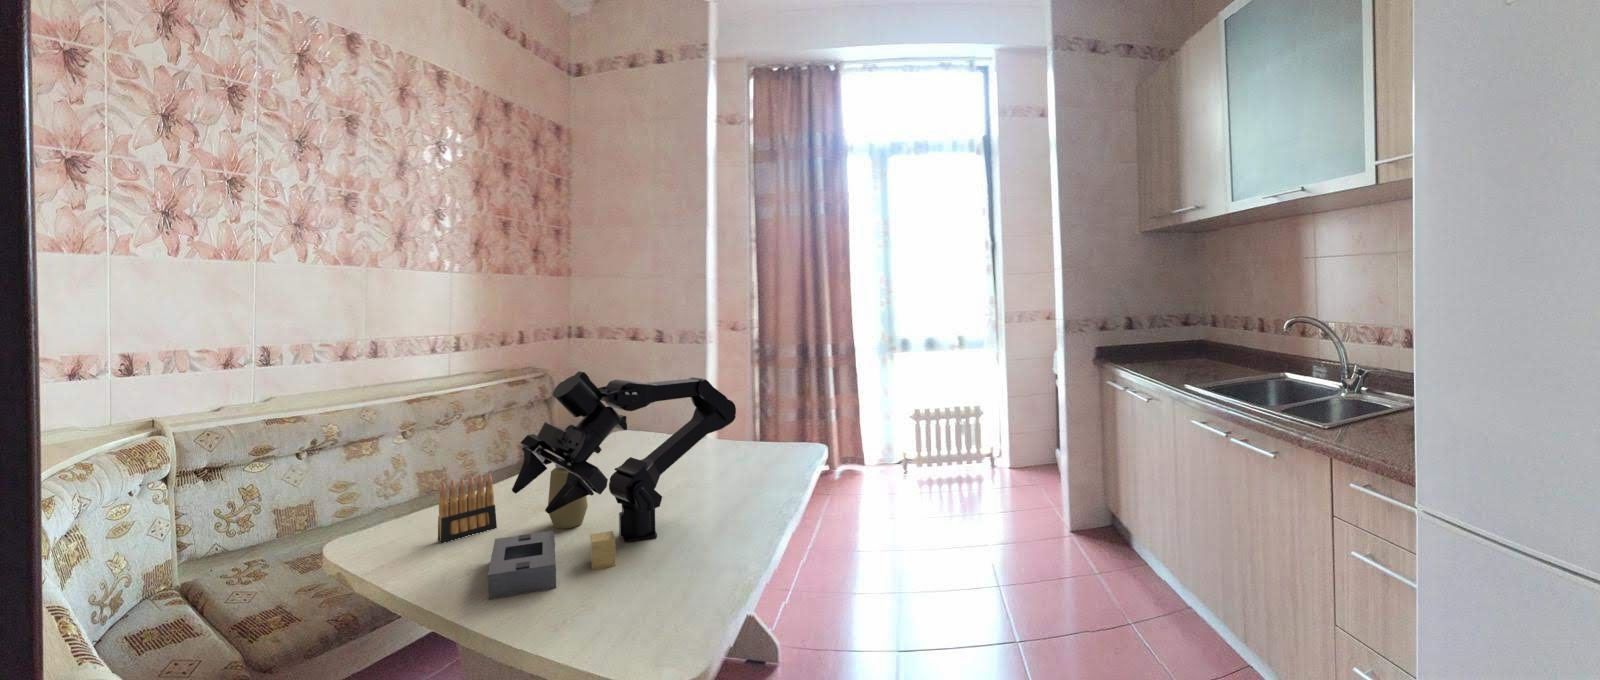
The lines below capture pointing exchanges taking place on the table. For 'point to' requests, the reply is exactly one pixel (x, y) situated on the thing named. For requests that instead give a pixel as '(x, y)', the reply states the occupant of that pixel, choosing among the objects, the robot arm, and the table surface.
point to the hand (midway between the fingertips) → (529, 501)
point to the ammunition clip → (466, 510)
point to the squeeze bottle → (570, 512)
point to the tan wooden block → (602, 550)
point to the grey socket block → (522, 565)
